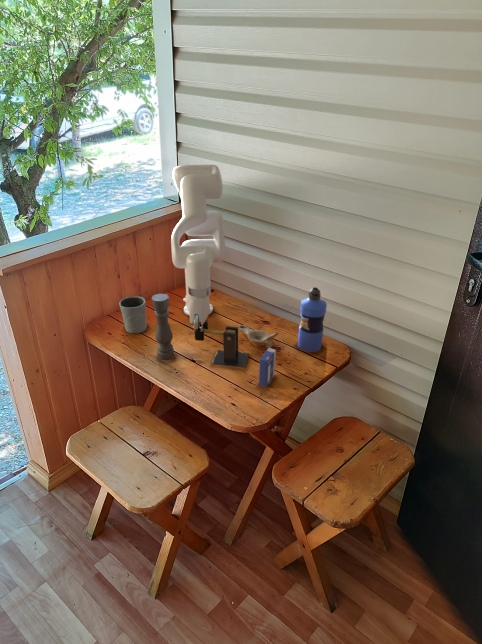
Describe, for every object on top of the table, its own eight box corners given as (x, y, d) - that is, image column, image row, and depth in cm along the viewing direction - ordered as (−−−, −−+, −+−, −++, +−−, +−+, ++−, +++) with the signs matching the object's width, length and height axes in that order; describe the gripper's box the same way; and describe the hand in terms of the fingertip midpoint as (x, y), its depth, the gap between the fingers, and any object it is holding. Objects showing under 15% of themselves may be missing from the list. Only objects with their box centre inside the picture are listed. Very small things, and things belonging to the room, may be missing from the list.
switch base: (212, 366, 172) (211, 334, 165) (218, 352, 180) (217, 321, 172) (244, 369, 170) (245, 338, 163) (249, 356, 178) (249, 325, 170)
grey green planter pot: (140, 336, 189) (137, 309, 182) (118, 331, 191) (114, 305, 185) (152, 324, 197) (149, 298, 190) (131, 320, 199) (127, 294, 193)
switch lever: (196, 336, 169) (196, 330, 167) (200, 329, 173) (200, 323, 172) (233, 341, 167) (233, 335, 166) (236, 334, 171) (236, 328, 170)
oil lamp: (268, 358, 176) (269, 335, 171) (231, 335, 190) (231, 313, 184) (284, 350, 181) (286, 327, 176) (248, 328, 195) (248, 306, 189)
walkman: (266, 389, 161) (267, 360, 154) (258, 387, 162) (259, 358, 155) (274, 377, 167) (276, 348, 160) (267, 375, 168) (268, 346, 161)
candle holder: (155, 355, 177) (149, 295, 164) (172, 351, 180) (166, 292, 166) (160, 364, 173) (153, 302, 159) (176, 360, 175) (171, 299, 161)
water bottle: (304, 356, 178) (310, 296, 164) (292, 343, 185) (297, 285, 171) (326, 351, 181) (333, 291, 167) (313, 339, 188) (319, 281, 174)
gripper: (195, 278, 169) (197, 323, 179) (181, 300, 155) (184, 347, 165) (216, 280, 168) (217, 325, 178) (203, 302, 154) (205, 349, 164)
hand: (201, 335), depth 171 cm, fingers closed on switch lever, 5 cm apart
